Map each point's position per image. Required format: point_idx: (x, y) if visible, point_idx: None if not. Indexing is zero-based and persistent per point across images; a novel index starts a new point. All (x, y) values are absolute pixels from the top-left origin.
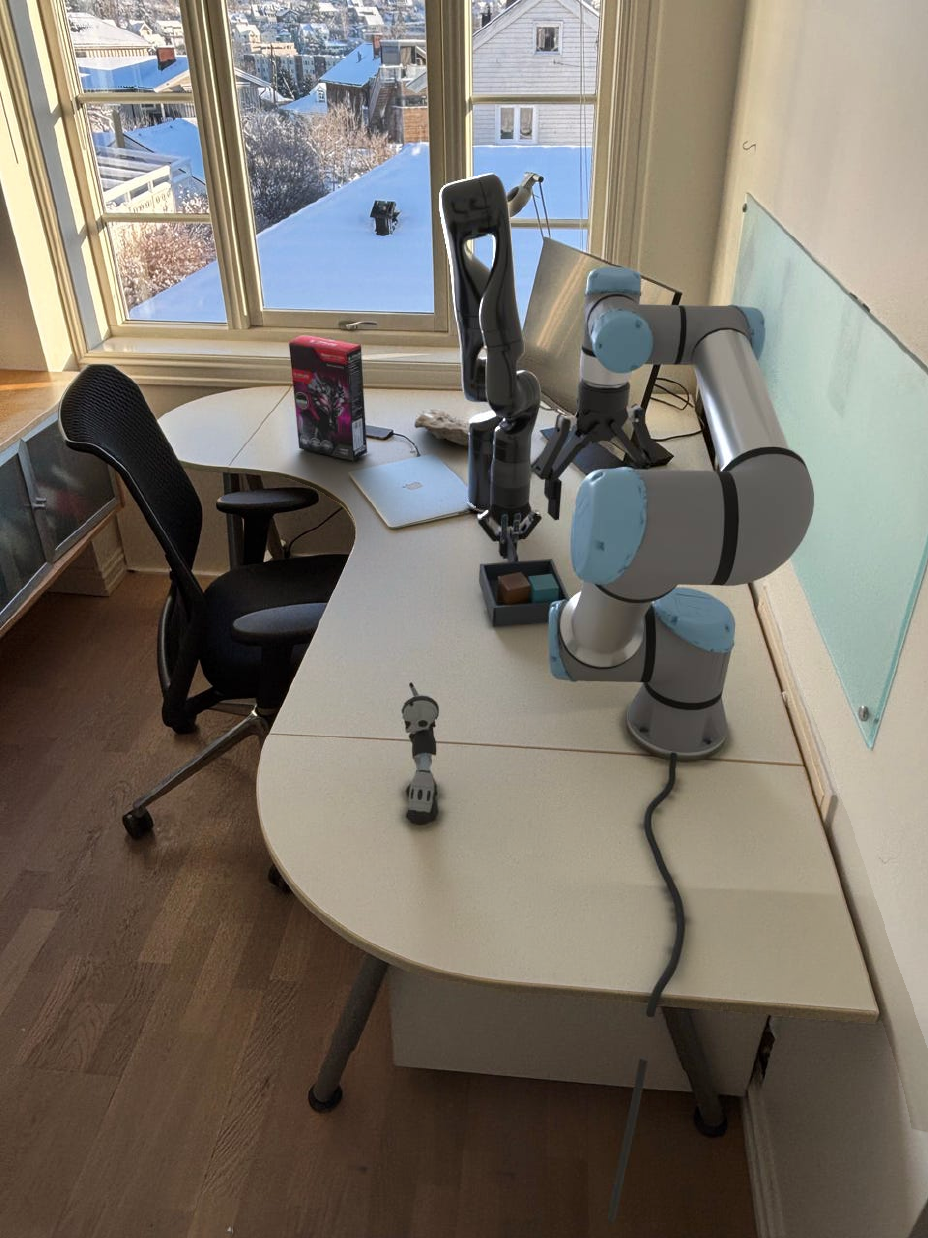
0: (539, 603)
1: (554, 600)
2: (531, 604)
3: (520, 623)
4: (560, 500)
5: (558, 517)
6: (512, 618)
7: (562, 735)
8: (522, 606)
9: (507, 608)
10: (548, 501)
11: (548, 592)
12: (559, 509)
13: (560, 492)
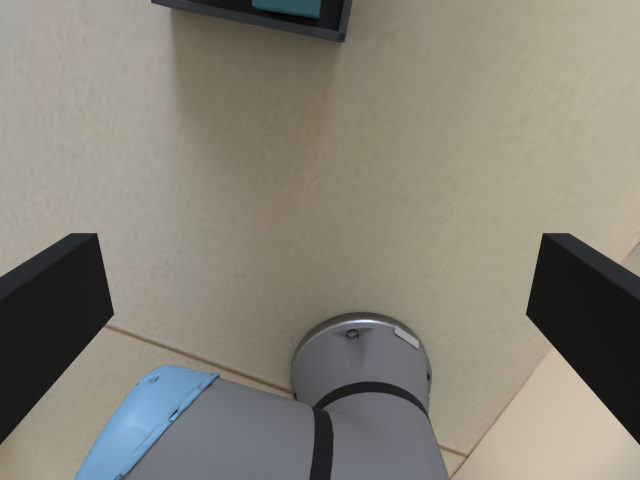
0: (268, 22)
1: (310, 17)
2: (247, 19)
3: (233, 20)
4: (49, 387)
5: (104, 320)
6: (210, 15)
7: (203, 335)
8: (225, 17)
9: (188, 10)
10: (25, 262)
11: (291, 12)
12: (81, 349)
13: (3, 434)
